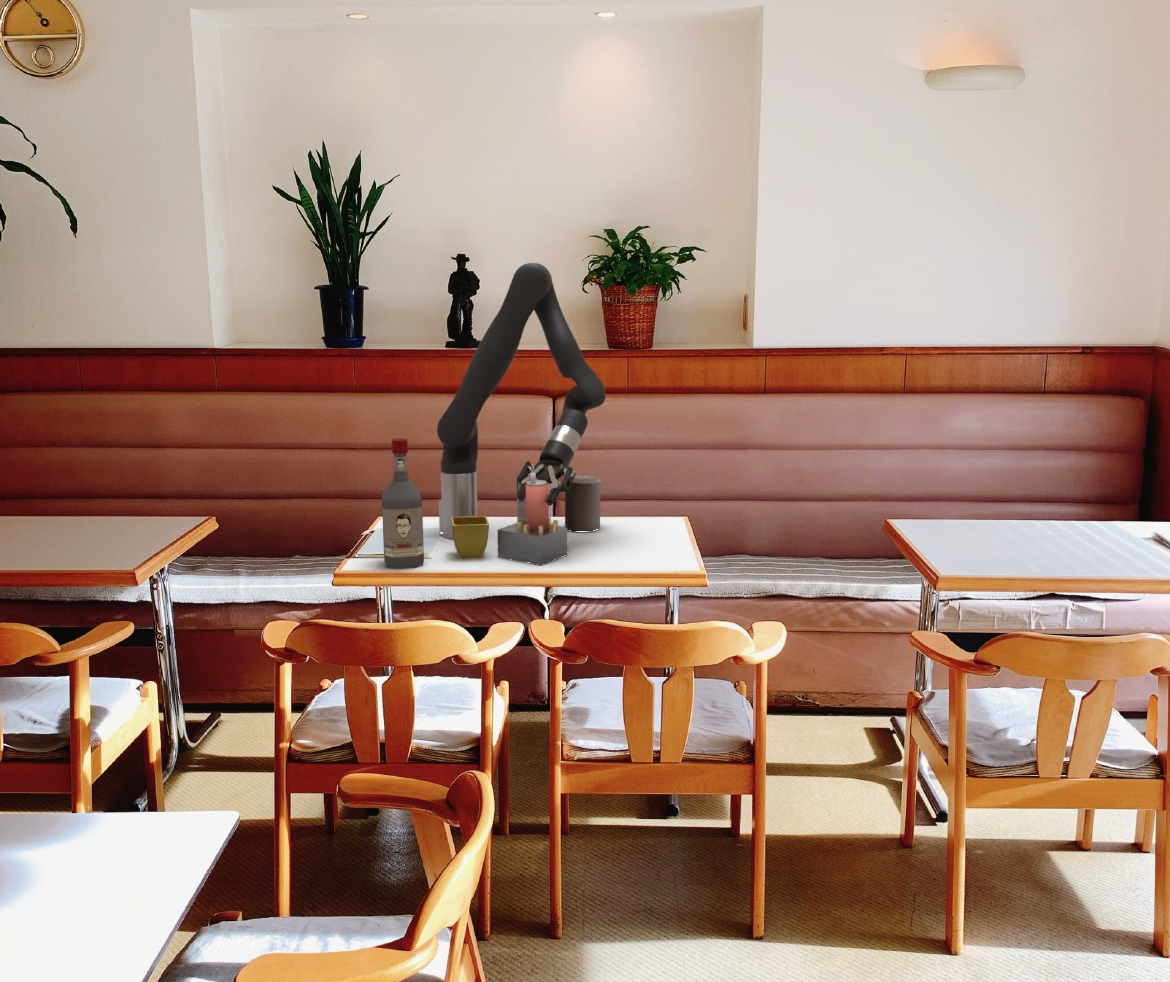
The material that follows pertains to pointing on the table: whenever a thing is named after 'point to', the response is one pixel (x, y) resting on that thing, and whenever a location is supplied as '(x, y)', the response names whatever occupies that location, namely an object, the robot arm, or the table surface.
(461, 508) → the robot arm
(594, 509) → the pillar candle
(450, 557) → the table surface
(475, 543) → the flower pot
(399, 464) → the liquor
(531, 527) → the spout can
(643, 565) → the table surface
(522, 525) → the grey block
